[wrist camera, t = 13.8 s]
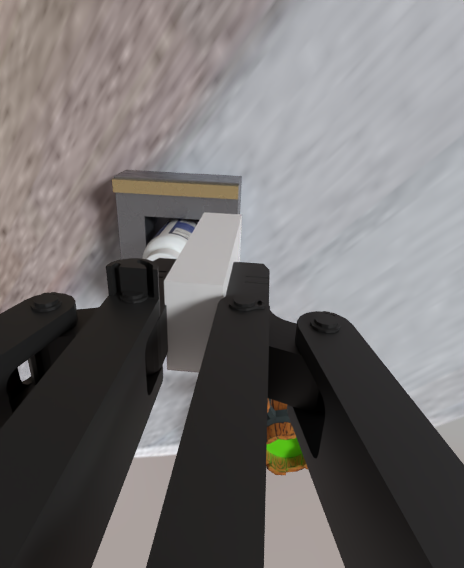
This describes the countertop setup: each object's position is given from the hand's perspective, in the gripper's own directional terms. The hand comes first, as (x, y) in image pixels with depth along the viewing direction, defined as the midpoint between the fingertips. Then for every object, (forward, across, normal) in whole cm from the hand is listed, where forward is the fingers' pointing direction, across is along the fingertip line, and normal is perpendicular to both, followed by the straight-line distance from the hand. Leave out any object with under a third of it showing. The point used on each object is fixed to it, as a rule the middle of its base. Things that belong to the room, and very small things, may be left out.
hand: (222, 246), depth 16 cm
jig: (+26, -7, -9) cm, 29 cm away
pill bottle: (+26, -7, -9) cm, 29 cm away
